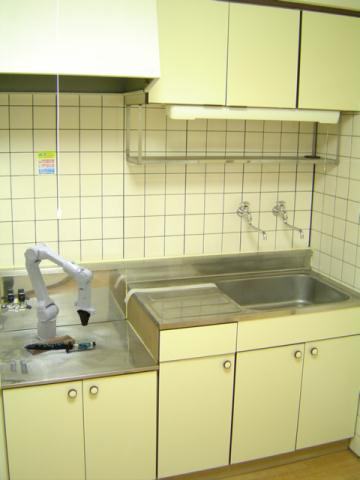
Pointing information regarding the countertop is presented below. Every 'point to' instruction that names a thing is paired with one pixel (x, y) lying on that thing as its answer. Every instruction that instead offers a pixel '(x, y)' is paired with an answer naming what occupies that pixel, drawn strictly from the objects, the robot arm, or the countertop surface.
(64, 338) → the walnut board
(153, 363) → the countertop surface
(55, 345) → the knife
